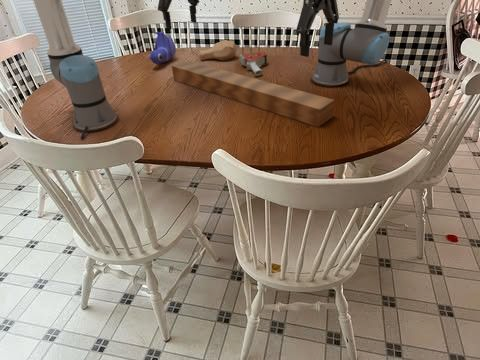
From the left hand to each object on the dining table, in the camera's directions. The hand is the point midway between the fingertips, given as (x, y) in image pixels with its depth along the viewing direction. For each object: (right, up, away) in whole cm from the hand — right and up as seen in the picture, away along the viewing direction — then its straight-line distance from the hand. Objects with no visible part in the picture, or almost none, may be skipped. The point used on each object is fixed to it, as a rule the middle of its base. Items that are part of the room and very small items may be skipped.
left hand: (181, 25), depth 151 cm
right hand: (+49, -24, -38) cm, 67 cm away
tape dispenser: (+31, -12, +21) cm, 40 cm away
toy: (-15, -5, +35) cm, 38 cm away
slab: (+26, -31, -5) cm, 41 cm away
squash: (+13, -2, +36) cm, 39 cm away
